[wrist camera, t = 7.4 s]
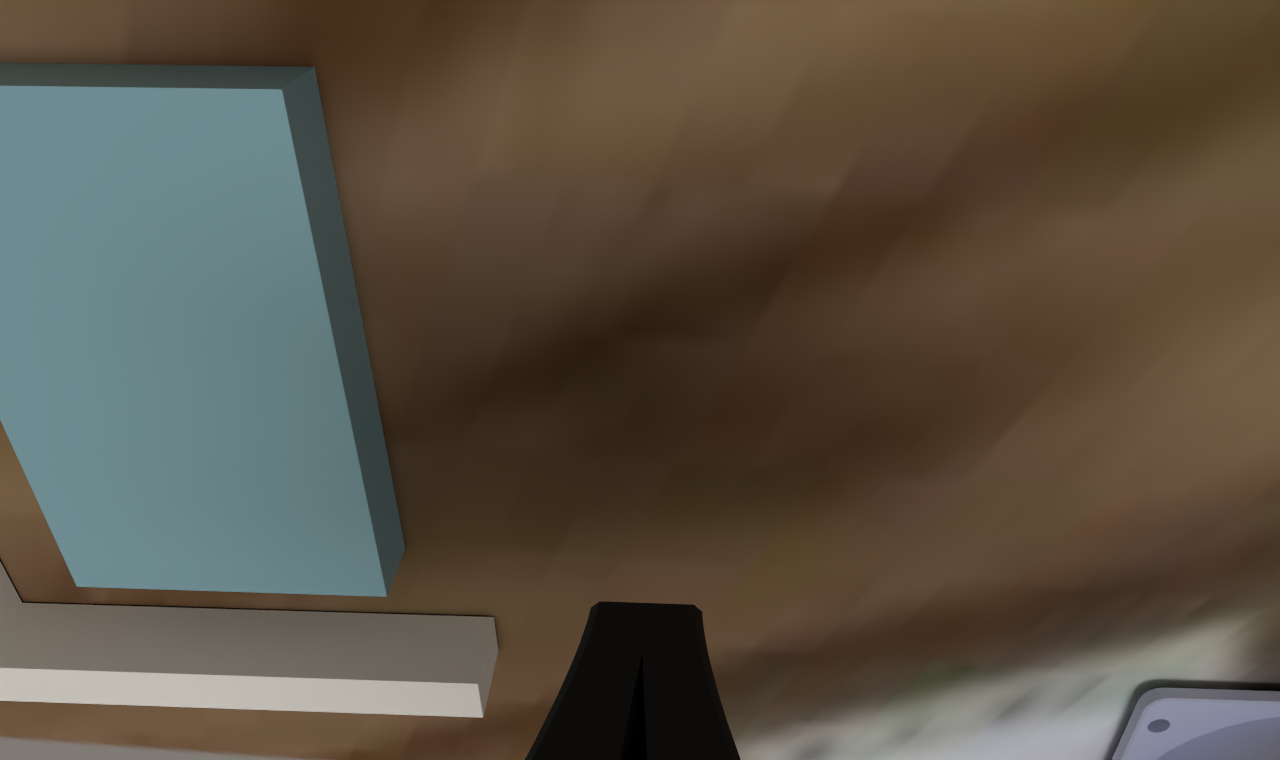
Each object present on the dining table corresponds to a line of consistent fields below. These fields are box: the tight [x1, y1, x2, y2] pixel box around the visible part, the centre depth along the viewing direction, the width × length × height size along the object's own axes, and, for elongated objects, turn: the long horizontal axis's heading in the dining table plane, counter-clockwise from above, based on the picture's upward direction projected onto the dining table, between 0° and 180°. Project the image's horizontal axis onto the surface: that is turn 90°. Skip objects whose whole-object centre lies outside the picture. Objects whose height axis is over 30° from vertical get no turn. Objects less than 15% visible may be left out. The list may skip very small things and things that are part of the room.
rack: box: [0, 562, 498, 718], centre depth 17 cm, size 17×13×3 cm
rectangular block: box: [0, 63, 405, 597], centre depth 18 cm, size 11×7×2 cm, turn 0°
